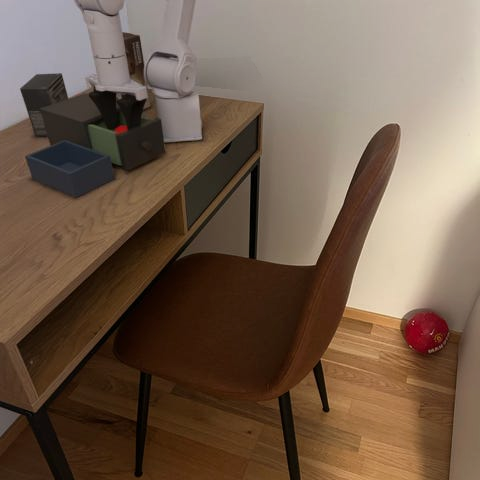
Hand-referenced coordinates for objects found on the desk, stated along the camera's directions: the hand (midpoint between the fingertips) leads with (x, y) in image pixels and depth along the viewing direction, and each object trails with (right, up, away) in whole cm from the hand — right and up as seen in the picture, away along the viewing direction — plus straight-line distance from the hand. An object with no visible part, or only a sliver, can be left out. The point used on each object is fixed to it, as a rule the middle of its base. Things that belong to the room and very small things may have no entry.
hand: (123, 131), depth 93 cm
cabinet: (-9, 0, +9) cm, 12 cm away
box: (-9, -10, -2) cm, 14 cm away
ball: (0, -1, +1) cm, 1 cm away
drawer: (0, -4, +3) cm, 5 cm away
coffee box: (-5, +15, +26) cm, 30 cm away
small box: (-20, +8, +18) cm, 28 cm away
